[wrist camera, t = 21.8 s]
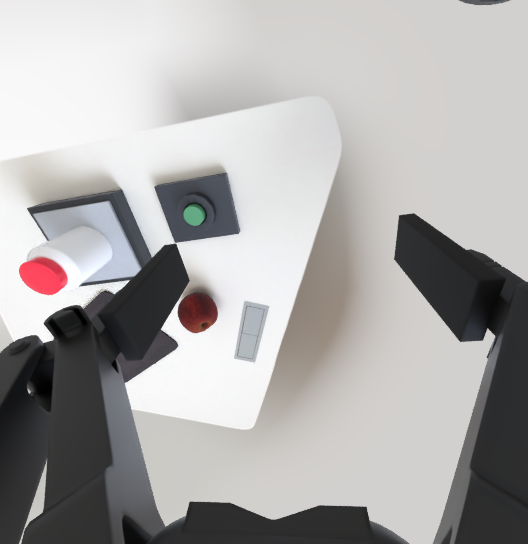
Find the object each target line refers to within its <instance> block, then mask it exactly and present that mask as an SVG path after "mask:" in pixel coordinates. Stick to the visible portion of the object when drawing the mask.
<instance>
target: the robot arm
mask: <svg viewBox="0 0 528 544" xmlns="http://www.w3.org/2000/svg"><path fill="white" fill-rule="evenodd" d="M394 260H395V261H396V262H397V263H398V265H399V266H400V267H401V268H402V270H403V271H404V272H405V273H406V275H407V276H408V277H409V278H410V279H411V281H412V282H413V283H414V285H415V286H416V287H417V288H418V290H419V291H420V292H421V293H422V295H423V296H424V297H425V298H426V300H427V301H428V302H429V303H430V305H431V306H432V307H433V308H434V310H435V311H436V312H437V313H438V315H439V316H440V317H441V318H442V320H443V321H444V322H445V323H446V325H447V326H448V327H449V328H450V330H451V331H452V332H453V333H454V335H455V336H456V337H457V338H458V340H459V341H460V342H466V341H482V340H483V339H484V336H485V333H486V331H487V328H488V329H489V330H490V331H491V332H492V333H493V334H494V335H495V339H494V341H493V344H492V346H491V348H490V351H489V353H488V356H487V358H488V361H487V365H486V368H485V371H484V375H483V378H482V382H481V385H480V389H479V392H478V396H477V399H476V403H475V406H474V409H473V413H472V416H471V420H470V423H469V427H468V430H467V434H466V437H465V441H464V444H463V448H462V451H461V455H460V458H459V462H458V465H457V468H456V472H455V476H454V479H453V482H452V486H451V489H450V493H449V496H448V500H447V503H446V506H445V510H444V513H443V517H442V520H441V523H440V526H439V529H438V531H437V534H436V537H435V540H434V542H433V544H528V282H526V281H524V280H522V279H521V278H520V277H518V276H517V275H515V274H513V273H512V272H511V271H509V270H508V269H506V268H504V267H502V266H501V265H500V264H498V263H497V262H494V260H492V259H491V258H489V257H488V256H486V255H485V254H482V253H480V252H477V251H474V250H465V249H464V248H462V247H461V246H460V245H458V244H457V243H455V242H454V241H452V240H451V239H450V238H448V237H447V236H445V235H444V234H442V233H441V232H440V231H438V230H437V229H435V228H434V227H433V226H431V225H430V224H428V223H427V222H425V221H424V220H423V219H421V218H420V217H418V216H417V215H416V214H407V215H400V216H399V222H398V231H397V241H396V249H395V258H394ZM189 281H190V280H189V277H188V275H187V272H186V269H185V267H184V264H183V261H182V258H181V256H180V253H179V250H178V248H177V245H176V244H171V245H164V247H163V248H162V249H161V250H160V251H159V252H158V253H157V254H156V255H155V256H154V257H153V258H152V259H151V260H150V261H149V262H148V263H147V264H146V265H145V266H144V267H143V268H142V269H141V270H140V271H139V272H138V273H137V274H136V275H135V276H134V277H133V278H132V279H131V280H130V281H129V282H128V283H127V284H126V285H125V287H124V288H122V289H121V290H119V291H118V292H117V293H116V294H115V295H114V296H113V297H112V298H111V299H110V300H109V301H108V302H107V303H106V304H105V305H104V306H103V307H102V308H101V309H100V310H99V311H98V312H97V313H96V314H95V315H94V316H93V317H92V318H91V319H89V318H88V316H87V315H86V313H85V312H84V310H83V309H82V307H81V306H79V305H74V306H69V307H66V308H63V309H61V310H59V311H57V312H55V313H54V314H52V315H51V316H50V317H48V318H47V319H46V320H45V322H44V325H45V326H46V327H47V329H48V330H49V331H50V332H51V334H52V335H53V336H54V337H55V339H56V340H53V341H49V342H46V343H43V342H42V341H41V340H40V339H39V337H38V336H37V335H31V336H27V337H24V338H22V339H18V340H16V341H15V342H13V343H11V344H10V345H9V346H8V347H6V348H5V349H4V350H3V351H2V352H1V353H0V544H19V541H20V539H21V536H22V533H23V530H24V527H25V524H26V521H27V518H28V515H29V512H30V509H31V506H32V503H33V499H34V497H35V494H36V491H37V487H38V485H39V482H40V479H41V476H42V473H43V470H44V466H45V464H46V461H47V473H46V487H45V501H44V510H43V513H42V514H40V515H39V516H38V517H36V518H35V519H33V520H32V521H31V522H30V523H29V524H28V526H27V527H26V529H25V531H24V535H23V539H22V543H21V544H409V543H408V542H406V541H405V540H404V539H402V538H401V537H399V536H398V535H397V534H395V533H394V532H392V531H391V530H389V529H387V528H385V527H383V526H381V525H379V524H377V523H374V522H372V521H369V516H368V512H367V507H354V506H317V507H314V508H311V509H307V510H304V511H302V512H298V513H296V514H292V515H289V516H286V517H283V518H280V519H276V520H271V519H268V518H265V517H263V516H260V515H258V514H256V513H253V512H251V511H248V510H246V509H243V508H241V507H238V506H236V505H234V504H231V503H219V502H190V503H189V507H188V511H187V515H186V516H185V517H183V518H180V519H178V520H176V521H175V522H173V523H171V524H169V525H168V526H166V527H165V525H164V523H163V521H162V519H161V517H160V515H159V513H158V510H157V507H156V504H155V500H154V496H153V492H152V489H151V485H150V481H149V477H148V473H147V469H146V465H145V461H144V457H143V453H142V449H141V446H140V442H139V438H138V434H137V430H136V426H135V422H134V418H133V414H132V411H131V406H130V403H129V399H128V395H127V391H126V387H125V383H124V379H123V375H122V371H121V367H120V364H119V362H118V361H117V359H116V358H117V357H118V355H119V354H120V352H121V353H122V354H123V356H124V358H125V359H126V361H137V360H143V358H144V356H145V355H146V353H147V351H148V350H149V348H150V346H151V345H152V343H153V341H154V340H155V338H156V336H157V335H158V333H159V331H160V329H161V328H162V326H163V324H164V323H165V321H166V319H167V318H168V316H169V314H170V313H171V311H172V309H173V308H174V306H175V304H176V303H177V301H178V299H179V298H180V296H181V294H182V293H183V291H184V289H185V288H186V286H187V284H188V283H189ZM27 388H28V389H29V390H30V391H31V393H30V394H29V393H28V390H27ZM47 458H48V459H47Z"/></svg>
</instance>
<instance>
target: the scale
mask: <svg viewBox="0 0 528 544" xmlns="http://www.w3.org/2000/svg"><path fill="white" fill-rule="evenodd" d="M27 209H28V211H29V213H30V214H31V216H32V217H33V219H34V220H35V222H36V223H37V225H38V227H39V228H40V230H41V231H42V233H43V234H44V236H45V237H46V239H47V241H49V240H51V239H53V238H55V237H57V236H59V235H61V234H63V233H65V232H67V231H69V230H71V229H73V228H75V227H78V226H86V227H90V228H93V229H95V230H97V231H99V232H100V233H101V234H103V235H104V236H105V237H106V239H107V240H108V241H109V243H110V245H111V247H112V252H113V254H112V258H111V260H110V261H109V263H107V264H106V265H105V266H103V267H102V268H101V269H100V270H98V271H97V272H96V273H95V274H93V275H92V276H91V277H90V278H88V279H87V280H86V281H85V282H83V283H82V284H81V285H80V286H86V285H94V284H102V283H110V282H118V281H126V280H131V279H132V278H133V277H134V276H135V275H136V274H137V273H138V272H139V271H140V270H141V269H142V268H143V267H144V266H145V265H146V264H147V263H148V262H149V261H150V260H151V259H152V257H151V255H150V253H149V251H148V248H147V246H146V244H145V241H144V239H143V237H142V235H141V232H140V230H139V228H138V225H137V223H136V221H135V219H134V216H133V214H132V212H131V209H130V207H129V205H128V203H127V200H126V198H125V196H124V193H123V191H122V190H116V191H111V192H105V193H99V194H94V195H88V196H82V197H77V198H71V199H65V200H60V201H54V202H49V203H43V204H39V205H36V206H33V207H29V208H27Z"/></svg>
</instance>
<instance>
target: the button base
mask: <svg viewBox="0 0 528 544" xmlns="http://www.w3.org/2000/svg"><path fill="white" fill-rule="evenodd" d="M154 188H155V190H156V193H157V196H158V198H159V201H160V204H161V206H162V209H163V212H164V214H165V217H166V220H167V222H168V225H169V228H170V230H171V233H172V236H173V238H174V241H175V243H177V242H184V241H191V240H198V239H205V238H212V237H219V236H226V235H233V234H239V232H240V229H239V225H238V220H237V216H236V211H235V207H234V203H233V198H232V194H231V190H230V185H229V181H228V177H227V173H223V174H218V175H212V176H206V177H201V178H195V179H189V180H184V181H178V182H172V183H167V184H161V185H157V186H155V187H154ZM191 204H198V205H200V206H201V207H203V209H204V210H205V214H206V216H205V219H204V220H203V222H202V223H201V224H200V225H197V226H193V225H190V224H188V223H187V222H186V221H185V219H184V210H185V209H186V208H187V207H188V206H189V205H191Z"/></svg>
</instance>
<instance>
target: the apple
mask: <svg viewBox="0 0 528 544" xmlns="http://www.w3.org/2000/svg"><path fill="white" fill-rule="evenodd" d="M217 316H218V311H217V307H216V304H215V302H214V301H213V300H212V299H211V298H210V297H209V296H207V295H205V294H202V293H193V294H190V295H188V296H186V297H185V298H184V299H183V300H182V301H181V302H180V304H179V307H178V317H179V320H180V322H181V324H182V325H183V326H184V327H185V328H186V329H187V330H188V331H190V332H192V333H199V332H203V331H205V330H206V329H208V328H209V327H210V326H211V325H213V324H214V323H215V322H216V320H217Z"/></svg>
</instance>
